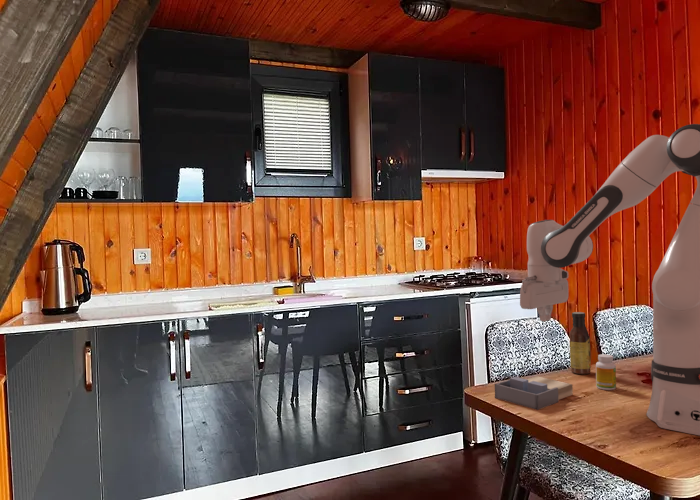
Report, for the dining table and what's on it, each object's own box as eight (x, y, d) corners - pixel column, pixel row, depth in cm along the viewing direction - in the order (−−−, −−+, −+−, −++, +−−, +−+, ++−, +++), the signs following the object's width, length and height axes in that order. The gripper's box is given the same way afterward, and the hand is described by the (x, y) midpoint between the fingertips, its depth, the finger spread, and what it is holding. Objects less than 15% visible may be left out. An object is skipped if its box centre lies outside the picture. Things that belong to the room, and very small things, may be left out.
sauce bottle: (594, 374, 174) (593, 314, 173) (574, 375, 174) (573, 314, 174) (585, 369, 181) (584, 311, 180) (567, 370, 181) (566, 311, 180)
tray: (558, 401, 149) (558, 387, 149) (537, 409, 143) (537, 395, 143) (515, 390, 160) (515, 377, 160) (494, 397, 154) (494, 384, 154)
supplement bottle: (617, 391, 157) (616, 358, 157) (597, 389, 159) (596, 357, 158) (614, 385, 162) (614, 353, 162) (595, 384, 164) (594, 353, 163)
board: (572, 394, 155) (572, 384, 155) (555, 400, 150) (555, 390, 150) (536, 385, 165) (536, 375, 165) (519, 391, 160) (519, 381, 160)
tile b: (528, 379, 154) (523, 381, 152) (528, 395, 154) (523, 397, 153) (515, 376, 157) (509, 378, 156) (515, 391, 158) (510, 393, 156)
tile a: (547, 384, 149) (542, 386, 148) (547, 400, 149) (542, 402, 148) (533, 380, 153) (527, 382, 151) (533, 396, 153) (528, 398, 151)
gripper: (532, 278, 151) (534, 326, 152) (571, 272, 164) (573, 317, 164) (513, 277, 156) (515, 324, 157) (552, 271, 169) (554, 315, 169)
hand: (545, 320), depth 160 cm, fingers closed
